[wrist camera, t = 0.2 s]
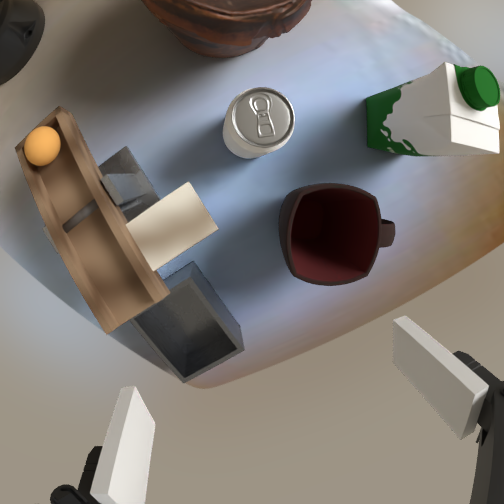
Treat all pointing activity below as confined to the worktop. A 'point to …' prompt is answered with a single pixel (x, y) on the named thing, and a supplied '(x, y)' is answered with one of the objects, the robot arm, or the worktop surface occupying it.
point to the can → (258, 122)
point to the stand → (125, 186)
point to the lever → (109, 228)
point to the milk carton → (437, 114)
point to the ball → (42, 145)
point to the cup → (332, 233)
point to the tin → (190, 325)
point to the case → (227, 22)
